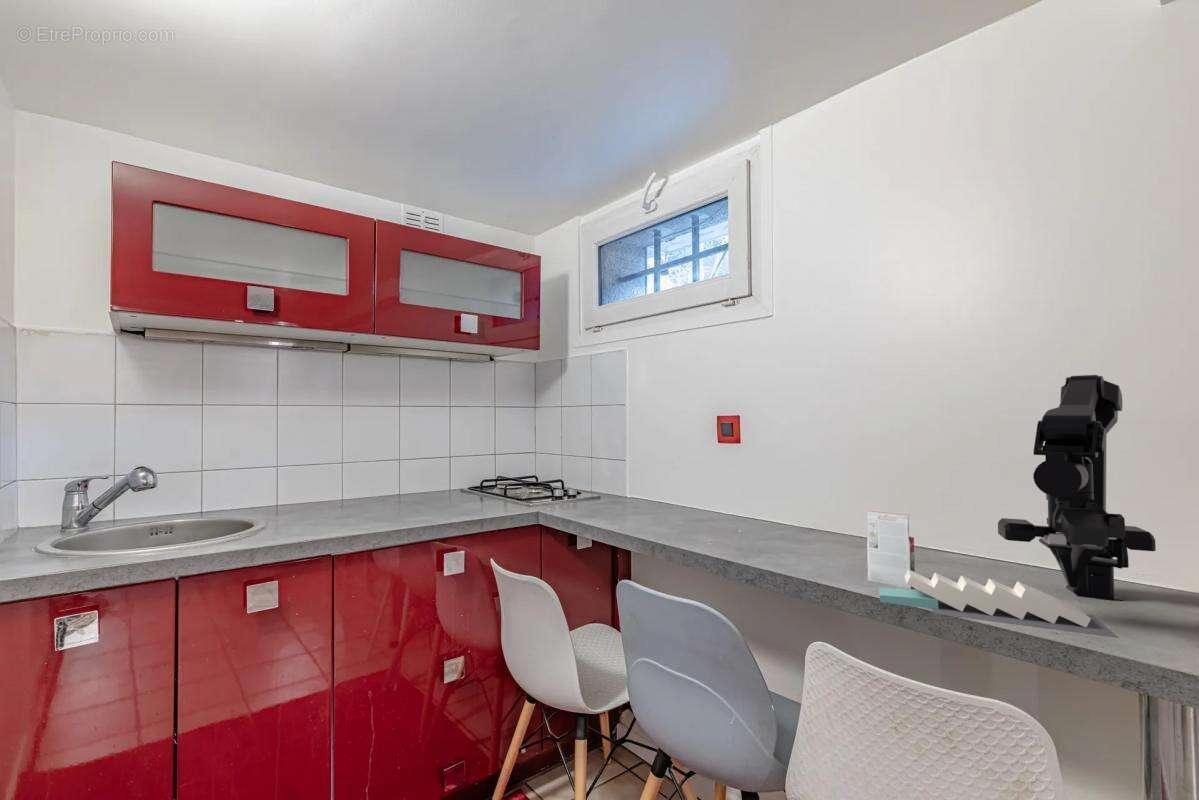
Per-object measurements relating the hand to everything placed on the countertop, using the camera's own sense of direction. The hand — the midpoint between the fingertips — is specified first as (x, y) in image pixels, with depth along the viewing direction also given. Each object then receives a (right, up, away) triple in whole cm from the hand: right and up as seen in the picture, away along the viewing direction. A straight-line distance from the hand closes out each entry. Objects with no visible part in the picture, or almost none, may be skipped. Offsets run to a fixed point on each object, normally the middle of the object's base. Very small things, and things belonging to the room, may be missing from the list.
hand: (1072, 586), depth 89 cm
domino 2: (-14, -5, +6) cm, 16 cm away
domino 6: (+1, -5, -1) cm, 5 cm away
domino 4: (-6, -5, +3) cm, 9 cm away
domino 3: (-10, -5, +5) cm, 12 cm away
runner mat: (-7, -6, +3) cm, 10 cm away
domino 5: (-3, -5, +1) cm, 6 cm away
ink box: (-19, -7, +21) cm, 28 cm away
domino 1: (-17, -5, +8) cm, 20 cm away
